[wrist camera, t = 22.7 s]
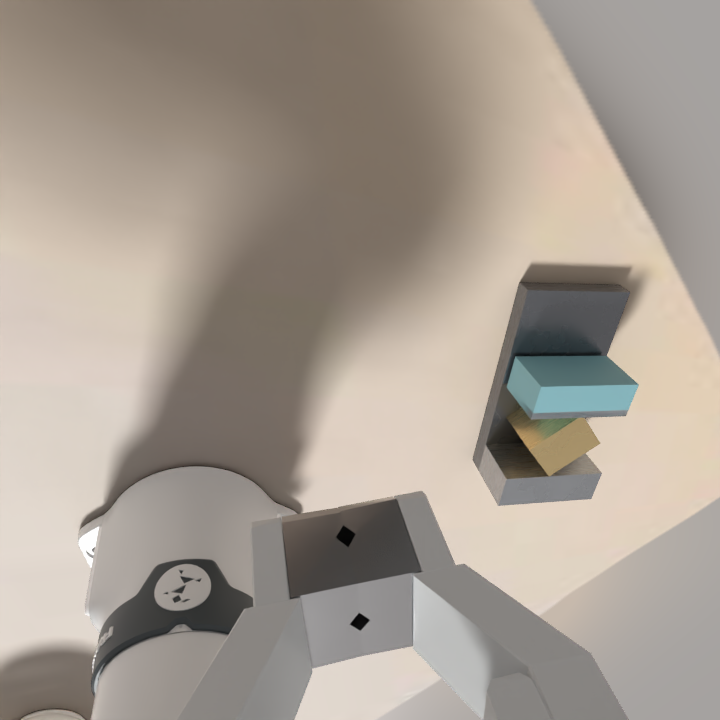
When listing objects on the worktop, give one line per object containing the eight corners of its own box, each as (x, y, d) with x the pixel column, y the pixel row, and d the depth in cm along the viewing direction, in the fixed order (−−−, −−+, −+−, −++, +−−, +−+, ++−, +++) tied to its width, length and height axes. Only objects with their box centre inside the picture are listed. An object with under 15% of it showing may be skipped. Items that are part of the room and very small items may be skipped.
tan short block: (525, 442, 52) (549, 476, 48) (506, 417, 50) (529, 450, 46) (575, 409, 51) (603, 441, 47) (557, 382, 49) (585, 413, 45)
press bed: (558, 455, 56) (591, 498, 50) (472, 459, 53) (498, 505, 48) (619, 284, 47) (666, 317, 42) (519, 282, 45) (556, 316, 40)
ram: (594, 385, 49) (625, 415, 46) (506, 387, 47) (530, 419, 44) (606, 355, 48) (638, 384, 44) (515, 356, 46) (541, 386, 42)
